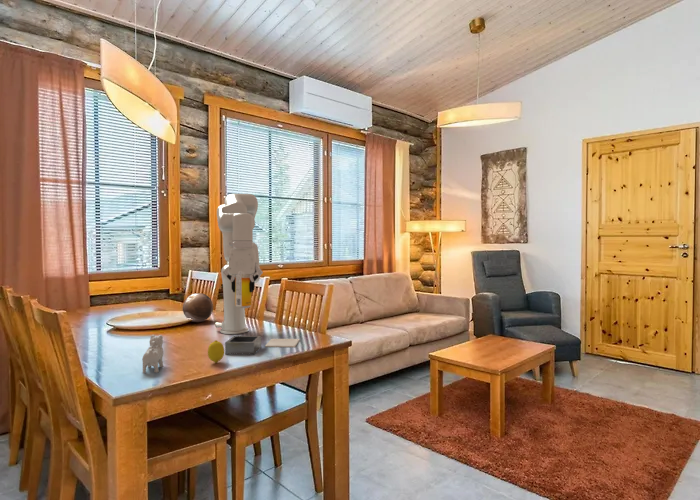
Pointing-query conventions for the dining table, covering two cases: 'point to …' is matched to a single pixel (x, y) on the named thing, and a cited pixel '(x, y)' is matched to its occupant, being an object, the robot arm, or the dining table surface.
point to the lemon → (215, 351)
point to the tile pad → (282, 343)
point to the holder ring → (243, 345)
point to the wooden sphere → (198, 307)
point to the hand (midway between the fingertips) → (243, 291)
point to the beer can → (242, 290)
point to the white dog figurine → (153, 354)
